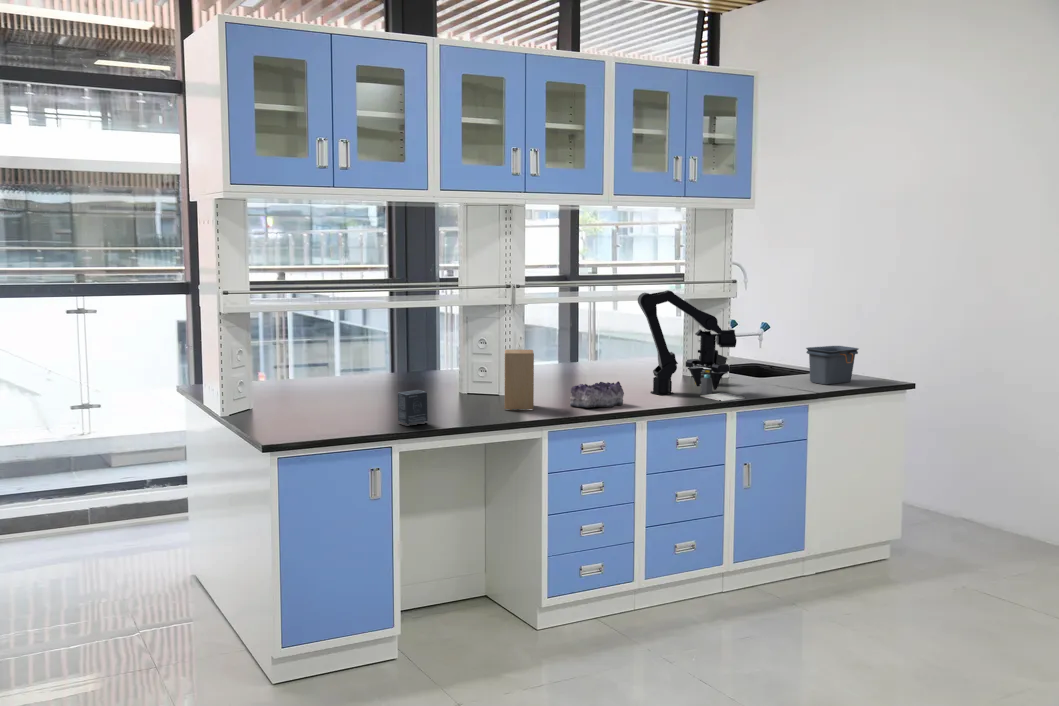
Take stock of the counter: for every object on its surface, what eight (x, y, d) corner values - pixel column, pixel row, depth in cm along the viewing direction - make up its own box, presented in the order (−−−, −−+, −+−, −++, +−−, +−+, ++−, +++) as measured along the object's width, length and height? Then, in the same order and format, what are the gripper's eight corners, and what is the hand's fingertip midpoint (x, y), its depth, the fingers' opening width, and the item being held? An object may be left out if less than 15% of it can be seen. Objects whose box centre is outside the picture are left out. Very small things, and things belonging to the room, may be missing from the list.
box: (418, 421, 317) (418, 389, 315) (428, 424, 312) (427, 391, 311) (397, 424, 312) (397, 391, 310) (407, 427, 307) (406, 394, 306)
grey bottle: (706, 394, 370) (706, 375, 369) (700, 393, 372) (701, 374, 371) (712, 393, 371) (712, 375, 370) (706, 392, 374) (707, 374, 373)
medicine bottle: (694, 384, 392) (695, 355, 391) (699, 382, 398) (700, 353, 397) (711, 386, 389) (712, 356, 387) (716, 383, 395) (717, 354, 394)
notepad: (722, 401, 355) (722, 399, 355) (700, 396, 365) (700, 395, 365) (744, 398, 361) (744, 397, 361) (721, 393, 371) (721, 392, 371)
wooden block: (532, 405, 346) (533, 349, 343) (533, 410, 336) (533, 353, 333) (504, 405, 346) (504, 349, 343) (504, 410, 336) (504, 353, 333)
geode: (611, 401, 356) (614, 374, 354) (629, 410, 346) (632, 383, 344) (563, 403, 346) (567, 376, 344) (580, 413, 336) (584, 385, 334)
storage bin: (833, 377, 412) (835, 344, 410) (865, 382, 399) (866, 348, 398) (800, 382, 400) (802, 347, 398) (832, 387, 387) (833, 352, 385)
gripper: (740, 348, 366) (739, 389, 368) (706, 343, 382) (705, 382, 384) (719, 350, 360) (717, 392, 362) (685, 345, 376) (684, 385, 378)
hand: (706, 388), depth 372 cm, fingers open, 9 cm apart
